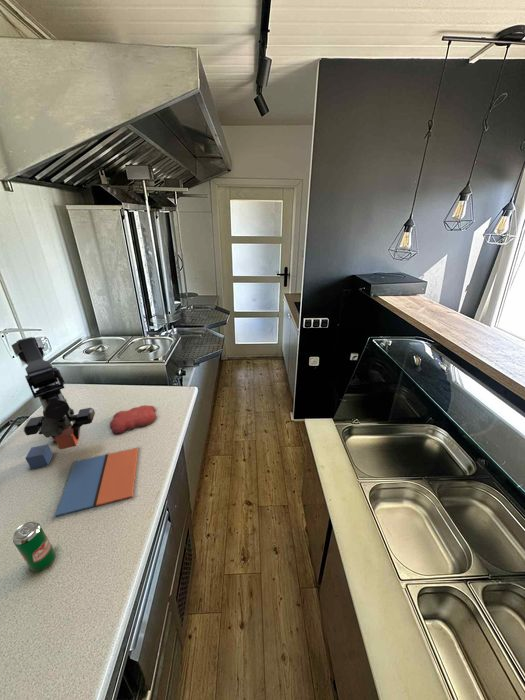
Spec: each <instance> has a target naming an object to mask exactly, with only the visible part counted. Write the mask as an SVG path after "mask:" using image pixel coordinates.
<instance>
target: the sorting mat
mask: <svg viewBox="0 0 525 700" xmlns="http://www.w3.org/2000/svg"><path fill="white" fill-rule="evenodd" d="M138 452H139V448H138V447H136V448H131V449H127V450H122V451H117V452H112V453H107V454H102V455H99V456H94V457H89V458H86V459H80V460H76V461H74V462H73V466H72V468H71V470H70V474H69V476H68V479H67V482H66V483H65V488H64V490H63V492H62V495H61V498H60V501H59V503H58V506H57V508H56V512H55V514H54V516H55V517H61V516H65V515H68V514H72V513H76V512H81V511H84V510H88V509H92V508H96V507H100V506H104V505H107V504H111V503H115V502H119V501H124V500H127V499H131V498H133V495H134V487H135V480H136V479H135V477H136V469H137V461H138Z"/></svg>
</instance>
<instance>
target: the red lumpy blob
mask: <svg viewBox="0 0 525 700" xmlns="http://www.w3.org/2000/svg"><path fill="white" fill-rule="evenodd" d="M155 411H156V407H155V406H153V405H140V406H137V407H133V408H130V409H128V410H120V411H117V412H116V413H115V414H114V415H113V419H111V421H110V423H109V426H110V429H111V432H112V433H113V434H114V435H120V434H123V433H125V432H126V431H131V430H134V429H135V428H141V427H146V426H149V425H151V424H152V423H154V421H155V419H156V418H157V417H156V416H157V415H156V413H155Z"/></svg>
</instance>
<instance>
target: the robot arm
mask: <svg viewBox="0 0 525 700" xmlns="http://www.w3.org/2000/svg"><path fill="white" fill-rule="evenodd" d="M11 348H12V351H13V353H14V356H15V357H19V358H18V359H20V361H21V362H22V363H23V364H25V365H26V367H25V369H24V370H25V372H26V375H24V377H25V380H26V382H27V384H28V387H29V389H30V391H31V394H32V396H33V399H37V398H38V399H39V401H40V405H41V406H42V409H43V410H42V415H41V416H35V417H30V418H29V420H28V421H27V423H26V424H25V426H24V427H23V432H24V434H25V436H31V435H32V436H33V435H37V434H38V435H39V436H40V435H41V436H44V437H45V438H46V439H48V438H52V439H53V443H54V444H57V442H56V440H55V436H59V435H61V434H62V433H63V431H64V430H65V429H68V428H69V426H72V427H71V429H73V431H74V434H75V437H76V439H79V440H80V438H79V435H80V434H81V433H80V432H81V427H82V426H86V425H90V424H91V423H93V420H94V417H95V414H96V412H95V411H96V410H95V409H94V408H92V407H87V408H81V409H79V411H78V412H76V413H75V411H74V409H73V408H71V407H70V405H69V403H68V400H67V398H65V397H64V394H63V393H62V390H63V389H65V385H64V384H66V383H65V380H64V378H63V376H62V373H61V372H60V371H61V370H60V369H58V368H57V367H56V366H52V365H53V364H52V363H51V361H48V360H45V359H44V356H45V352H44V350H45V349H46V347H45V345H44V343H43V341H42V338H41V337H35V336H29V337H25V338H21V339H18V340H16V342H14V343H13V344H11ZM58 382H59V383H58ZM34 390H35V391H34Z"/></svg>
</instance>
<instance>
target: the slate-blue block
mask: <svg viewBox="0 0 525 700" xmlns="http://www.w3.org/2000/svg"><path fill="white" fill-rule="evenodd" d="M53 456H54V454H53V451H52V449H51V447H50V445H49V444H48V443H47V444H42V445H41V444H40V445H37V446H31V448H30V450H29V451H28V452H27V454H26V456H25V460H26V463H27V465H28V466H29V468H30V470H33V469H38V468H39V469H40V468H43V467H47V466H49V465H50V462H51V460H52V458H53Z"/></svg>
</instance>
